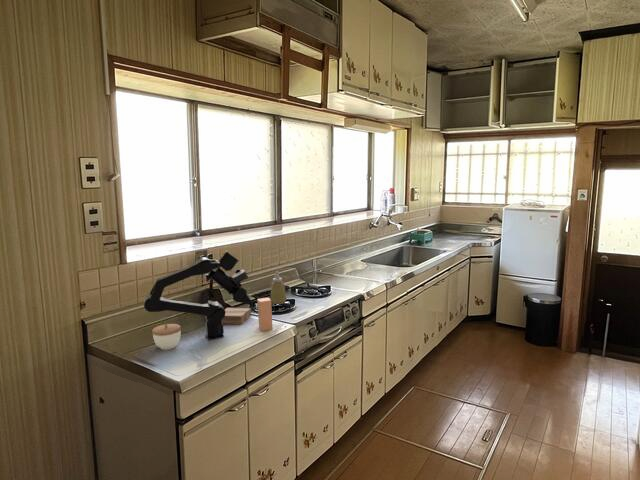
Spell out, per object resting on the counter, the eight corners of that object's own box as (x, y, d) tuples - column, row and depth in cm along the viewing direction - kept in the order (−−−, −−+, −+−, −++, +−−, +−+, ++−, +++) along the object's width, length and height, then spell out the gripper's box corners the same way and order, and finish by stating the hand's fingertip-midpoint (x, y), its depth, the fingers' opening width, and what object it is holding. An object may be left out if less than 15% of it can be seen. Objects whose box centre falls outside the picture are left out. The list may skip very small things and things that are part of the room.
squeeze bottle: (279, 302, 230) (278, 269, 227) (289, 305, 224) (288, 271, 222) (267, 305, 224) (265, 271, 222) (277, 308, 219) (275, 274, 216)
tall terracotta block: (261, 330, 188) (259, 301, 186) (258, 327, 193) (257, 298, 191) (272, 329, 190) (271, 300, 188) (269, 325, 195) (268, 297, 193)
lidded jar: (167, 340, 181) (165, 318, 180) (187, 343, 177) (185, 321, 176) (147, 350, 171) (145, 327, 170) (169, 353, 167) (167, 330, 166)
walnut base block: (241, 324, 198) (241, 316, 198) (217, 323, 201) (216, 315, 200) (251, 316, 210) (250, 308, 209) (227, 315, 212) (227, 307, 212)
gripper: (239, 268, 175) (267, 292, 180) (232, 260, 192) (258, 282, 197) (221, 290, 173) (250, 313, 178) (215, 280, 190) (242, 301, 196)
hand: (250, 301), depth 188 cm, fingers open, 9 cm apart
